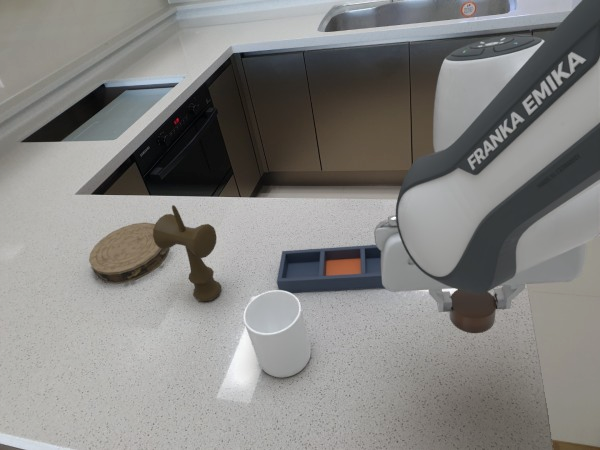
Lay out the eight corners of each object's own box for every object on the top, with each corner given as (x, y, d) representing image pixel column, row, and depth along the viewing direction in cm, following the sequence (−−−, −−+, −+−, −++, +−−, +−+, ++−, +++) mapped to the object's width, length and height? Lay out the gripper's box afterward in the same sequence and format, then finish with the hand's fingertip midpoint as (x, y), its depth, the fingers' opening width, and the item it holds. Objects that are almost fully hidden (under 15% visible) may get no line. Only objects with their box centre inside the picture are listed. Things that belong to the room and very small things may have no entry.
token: (499, 332, 52) (501, 317, 50) (453, 334, 53) (453, 319, 51) (489, 300, 56) (490, 285, 54) (446, 302, 57) (446, 287, 55)
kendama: (198, 276, 89) (163, 190, 77) (238, 288, 85) (207, 199, 73) (178, 297, 85) (138, 211, 73) (219, 311, 81) (183, 221, 69)
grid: (410, 286, 78) (410, 274, 76) (279, 293, 82) (276, 281, 80) (405, 255, 84) (405, 242, 82) (285, 262, 88) (282, 250, 86)
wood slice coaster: (113, 295, 89) (107, 284, 87) (84, 261, 99) (77, 251, 97) (183, 251, 96) (178, 240, 94) (148, 224, 107) (144, 214, 105)
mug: (238, 339, 75) (221, 295, 69) (280, 313, 78) (268, 269, 72) (276, 390, 66) (261, 345, 60) (322, 358, 69) (312, 312, 63)
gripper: (373, 237, 44) (383, 331, 52) (606, 219, 41) (578, 323, 49) (371, 200, 49) (380, 292, 57) (578, 181, 46) (557, 282, 54)
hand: (472, 306), depth 53 cm, fingers closed on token, 5 cm apart
